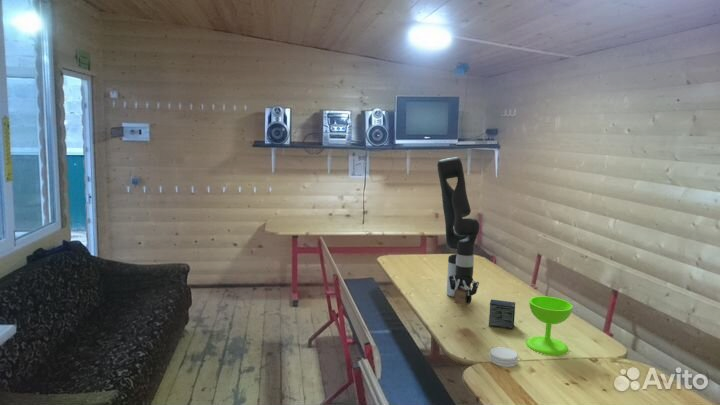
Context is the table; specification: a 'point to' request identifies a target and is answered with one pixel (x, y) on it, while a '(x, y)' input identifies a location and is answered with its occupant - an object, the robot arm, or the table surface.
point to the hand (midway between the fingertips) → (462, 301)
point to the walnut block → (461, 296)
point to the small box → (502, 314)
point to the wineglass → (549, 324)
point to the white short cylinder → (503, 357)
